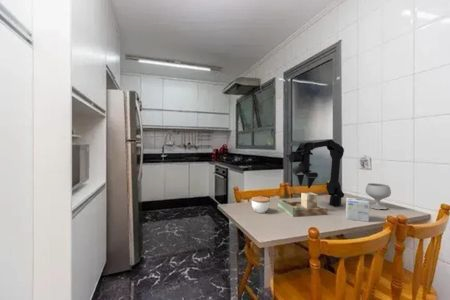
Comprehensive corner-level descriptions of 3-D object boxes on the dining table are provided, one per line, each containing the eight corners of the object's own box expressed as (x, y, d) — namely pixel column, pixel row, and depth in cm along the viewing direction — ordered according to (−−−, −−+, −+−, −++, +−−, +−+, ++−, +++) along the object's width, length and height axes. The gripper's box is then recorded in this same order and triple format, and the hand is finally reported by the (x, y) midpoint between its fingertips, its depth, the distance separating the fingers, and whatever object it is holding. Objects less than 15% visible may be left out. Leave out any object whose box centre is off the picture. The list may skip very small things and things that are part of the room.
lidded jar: (273, 211, 140) (273, 195, 140) (262, 215, 132) (263, 198, 132) (258, 208, 148) (258, 193, 147) (247, 211, 140) (247, 195, 139)
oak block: (310, 205, 148) (311, 192, 147) (317, 207, 142) (317, 194, 142) (301, 205, 146) (301, 192, 146) (306, 208, 140) (307, 194, 140)
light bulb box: (366, 218, 131) (367, 199, 131) (369, 222, 125) (370, 201, 125) (344, 216, 135) (345, 197, 135) (346, 219, 129) (347, 199, 128)
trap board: (308, 206, 154) (309, 198, 154) (326, 214, 137) (327, 205, 137) (277, 208, 148) (277, 200, 148) (292, 216, 131) (292, 207, 131)
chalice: (375, 204, 164) (376, 182, 163) (395, 209, 151) (396, 186, 150) (359, 205, 159) (360, 183, 159) (379, 211, 146) (380, 187, 146)
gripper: (286, 161, 156) (285, 184, 157) (302, 163, 138) (301, 190, 139) (301, 160, 159) (300, 183, 160) (318, 163, 141) (318, 189, 141)
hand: (304, 186), depth 150 cm, fingers open, 9 cm apart
